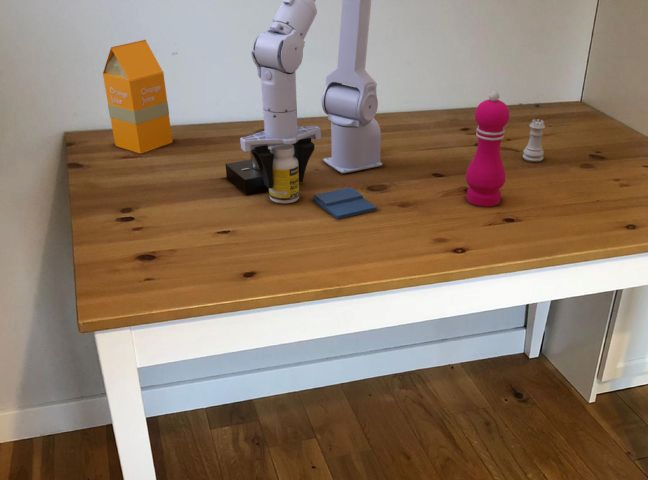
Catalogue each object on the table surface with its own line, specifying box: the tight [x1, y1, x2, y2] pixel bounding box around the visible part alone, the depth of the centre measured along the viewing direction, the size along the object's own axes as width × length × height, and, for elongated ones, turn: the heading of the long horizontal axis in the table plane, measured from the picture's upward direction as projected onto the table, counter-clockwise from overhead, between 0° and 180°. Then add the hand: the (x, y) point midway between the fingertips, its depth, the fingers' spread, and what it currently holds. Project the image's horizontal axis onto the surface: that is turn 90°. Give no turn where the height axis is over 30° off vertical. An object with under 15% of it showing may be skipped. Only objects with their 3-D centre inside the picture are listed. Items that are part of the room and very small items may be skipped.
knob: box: [250, 146, 271, 170], centre depth 143 cm, size 4×4×4 cm
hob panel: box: [225, 158, 301, 196], centre depth 145 cm, size 11×9×3 cm
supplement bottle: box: [268, 144, 300, 204], centre depth 137 cm, size 5×5×10 cm
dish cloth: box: [312, 186, 377, 220], centre depth 138 cm, size 8×9×1 cm
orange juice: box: [102, 39, 173, 155], centre depth 154 cm, size 8×9×20 cm
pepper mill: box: [465, 90, 510, 207], centre depth 137 cm, size 7×7×20 cm
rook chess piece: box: [522, 119, 546, 163], centre depth 159 cm, size 4×4×8 cm
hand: (283, 183), depth 138 cm, fingers closed on supplement bottle, 5 cm apart
